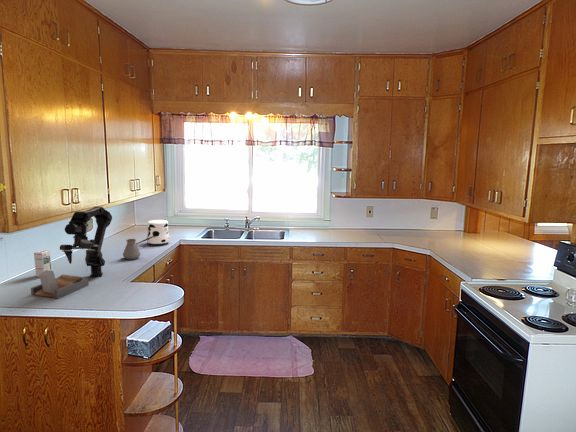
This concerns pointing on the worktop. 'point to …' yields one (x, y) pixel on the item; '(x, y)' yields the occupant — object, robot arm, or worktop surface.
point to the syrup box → (42, 261)
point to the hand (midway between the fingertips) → (79, 263)
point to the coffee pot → (132, 249)
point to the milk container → (158, 232)
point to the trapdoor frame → (64, 288)
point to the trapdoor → (60, 284)
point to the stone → (48, 281)
